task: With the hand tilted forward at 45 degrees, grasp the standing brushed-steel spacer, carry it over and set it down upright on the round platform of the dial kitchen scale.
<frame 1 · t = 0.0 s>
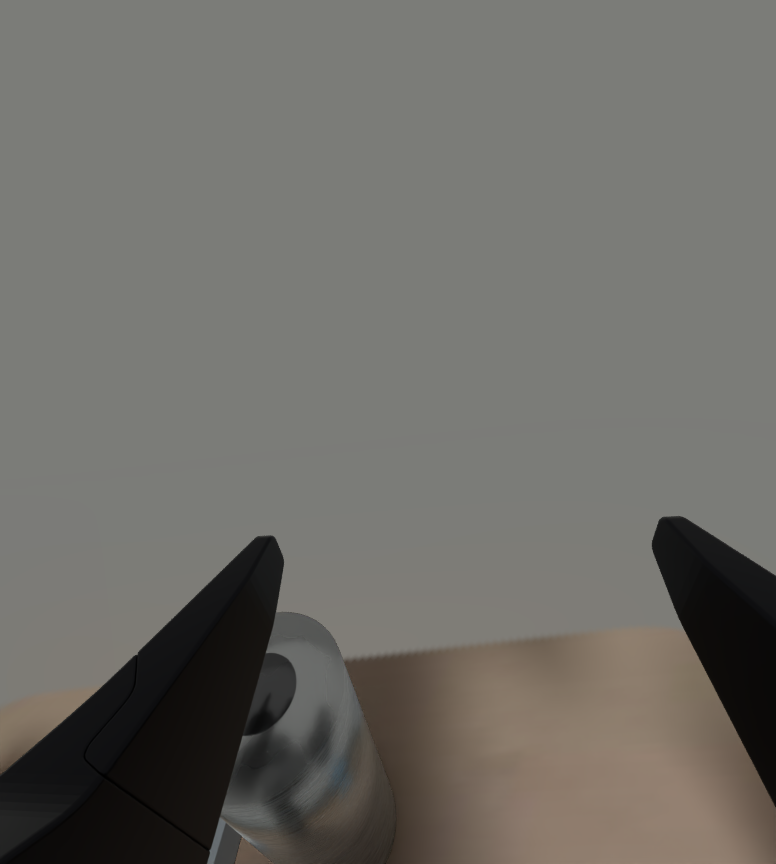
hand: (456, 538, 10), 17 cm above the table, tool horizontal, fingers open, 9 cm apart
spacer 2: (341, 818, 18), on the table
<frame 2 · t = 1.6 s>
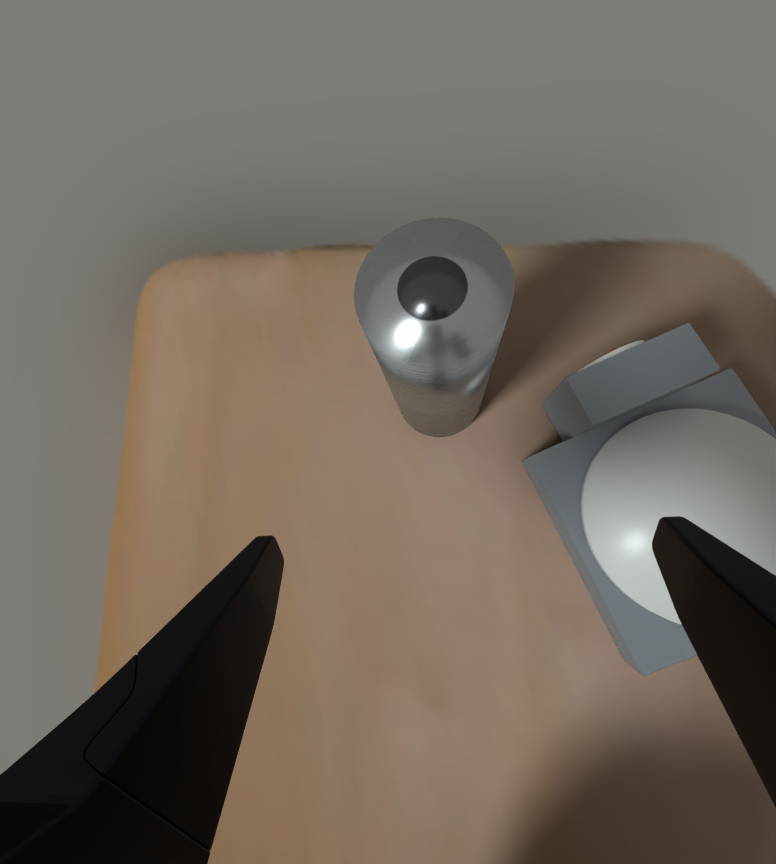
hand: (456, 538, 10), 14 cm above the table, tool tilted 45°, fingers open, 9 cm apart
spacer: (439, 396, 24), on the table
scale: (667, 513, 21), on the table
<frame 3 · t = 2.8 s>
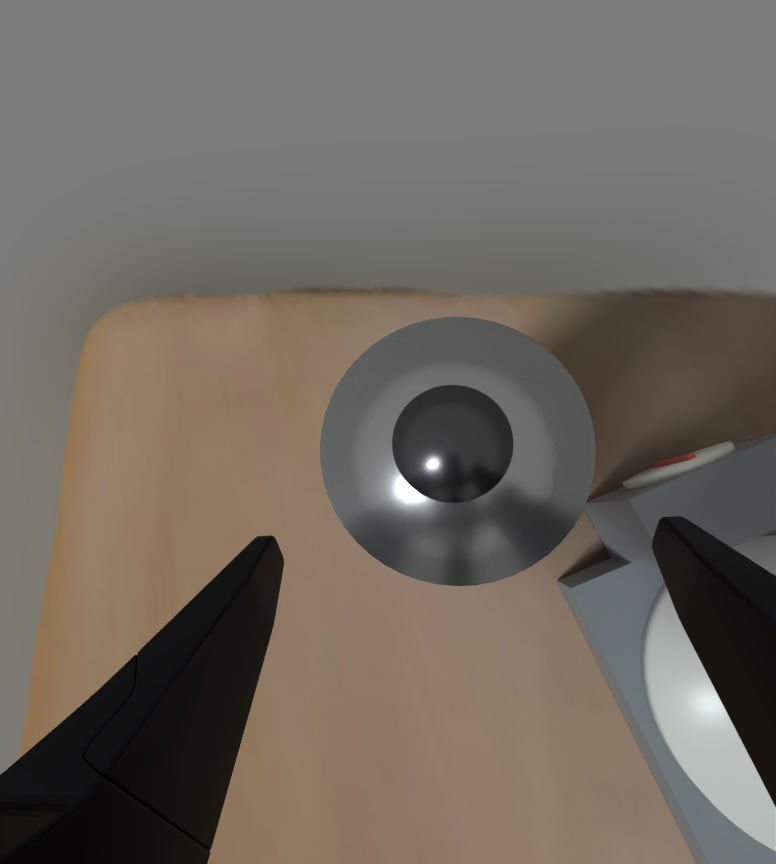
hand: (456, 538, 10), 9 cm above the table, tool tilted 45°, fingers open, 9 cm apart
spacer: (448, 487, 19), on the table
scale: (754, 662, 16), on the table
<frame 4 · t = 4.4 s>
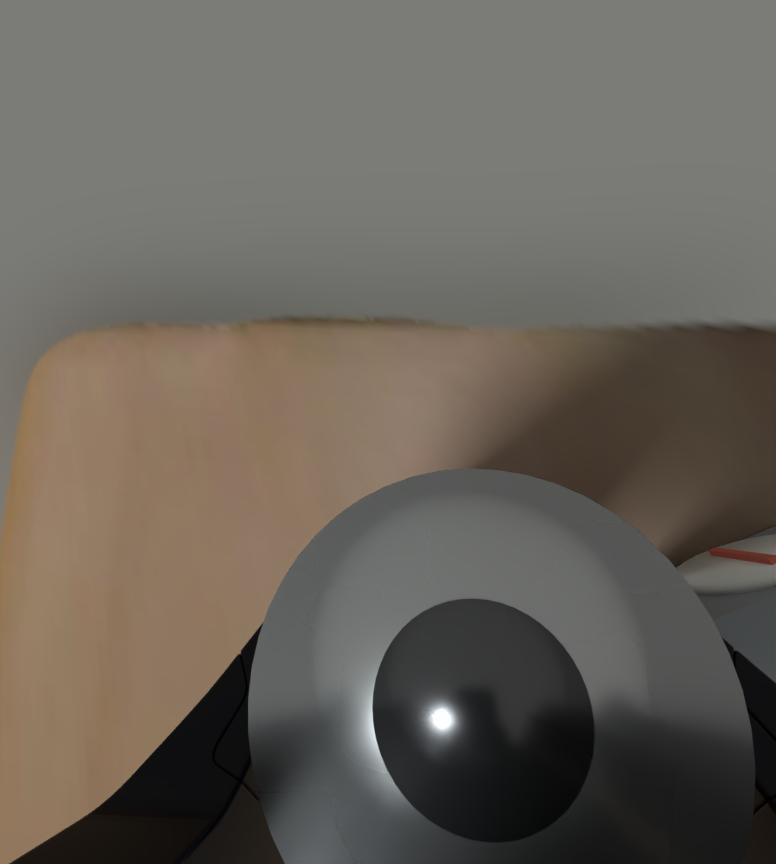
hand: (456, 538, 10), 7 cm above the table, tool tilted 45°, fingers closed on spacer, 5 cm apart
spacer: (455, 565, 16), on the table, touching gripper
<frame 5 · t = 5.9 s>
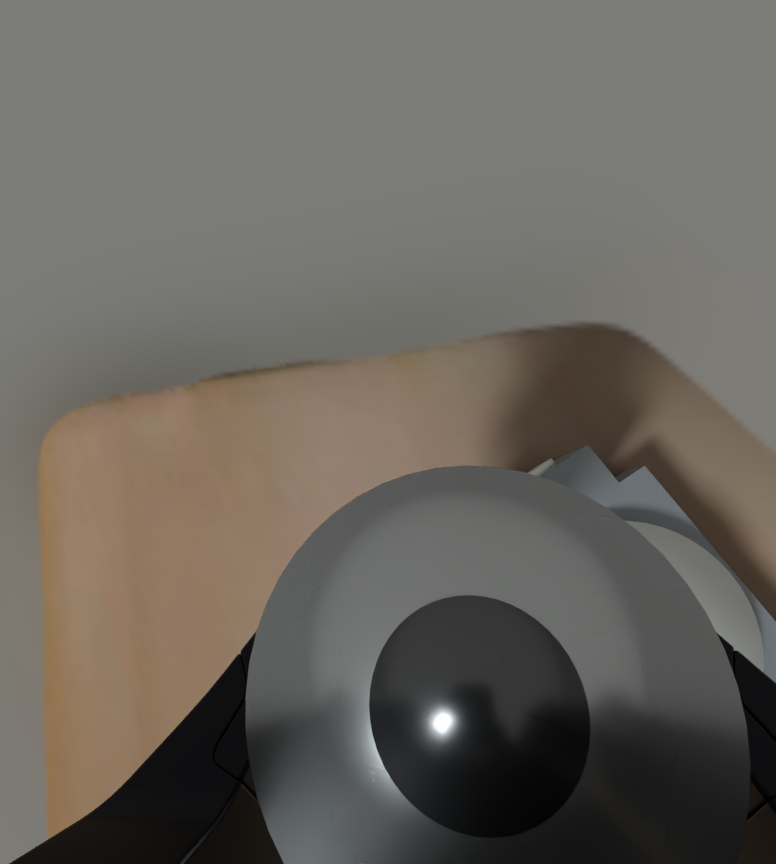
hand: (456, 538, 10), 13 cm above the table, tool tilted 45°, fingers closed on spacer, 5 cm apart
spacer: (454, 563, 16), point 7 cm above the table, touching gripper
scale: (610, 619, 21), on the table
when the fingers open (11 cm above the table, at t = 7.5 s): spacer drops 1 cm, resting on scale.
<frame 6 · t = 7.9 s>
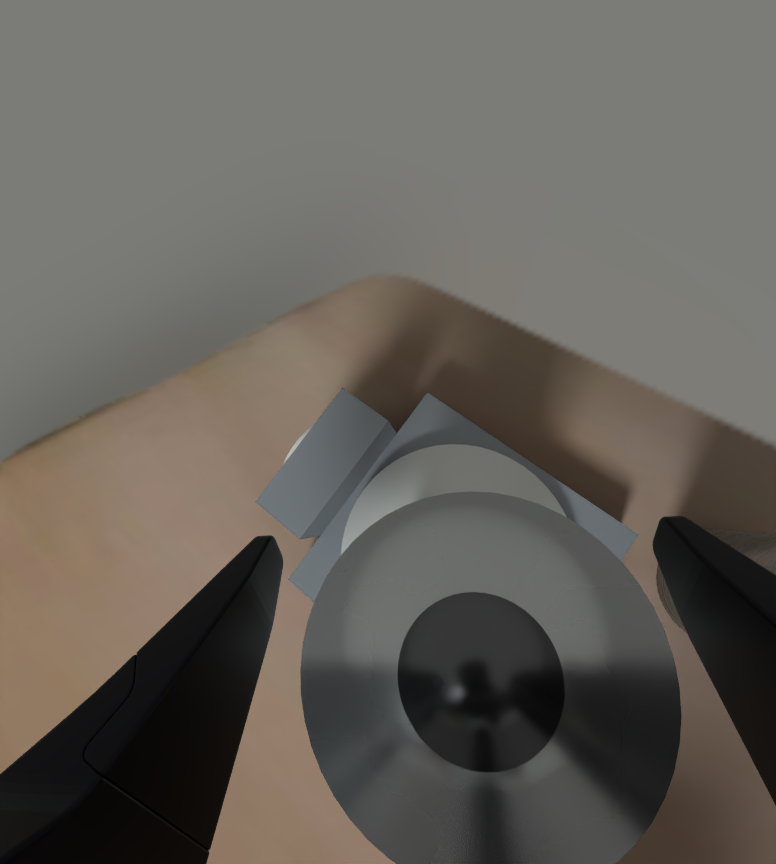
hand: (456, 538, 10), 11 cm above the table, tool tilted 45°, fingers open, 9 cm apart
spacer 2: (717, 586, 18), on the table
spacer: (455, 563, 17), point 3 cm above the table, touching scale
scale: (454, 553, 20), on the table
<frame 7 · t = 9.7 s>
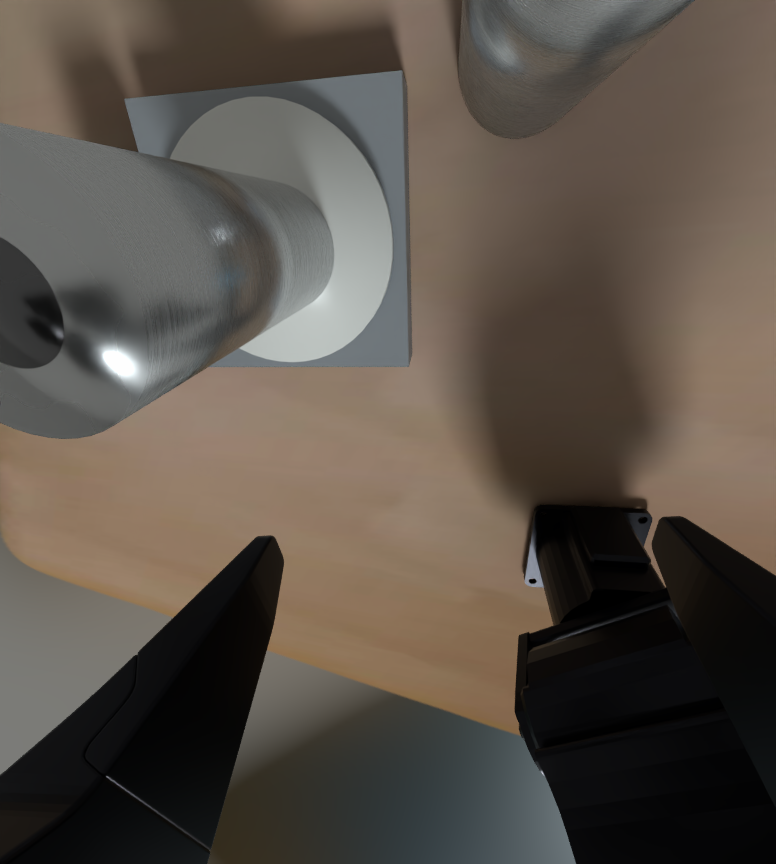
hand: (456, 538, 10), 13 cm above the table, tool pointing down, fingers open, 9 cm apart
spacer 2: (525, 57, 15), on the table
spacer: (276, 250, 17), point 3 cm above the table, touching scale
scale: (295, 243, 19), on the table
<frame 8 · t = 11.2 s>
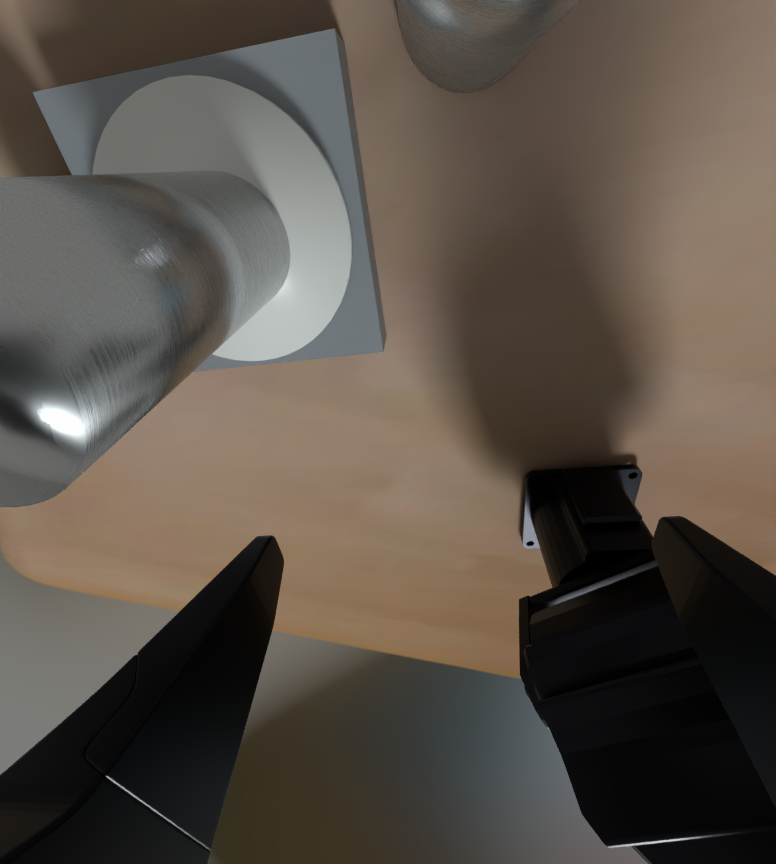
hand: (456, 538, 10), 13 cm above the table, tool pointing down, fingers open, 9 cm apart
spacer: (227, 245, 16), point 3 cm above the table, touching scale
scale: (249, 232, 18), on the table
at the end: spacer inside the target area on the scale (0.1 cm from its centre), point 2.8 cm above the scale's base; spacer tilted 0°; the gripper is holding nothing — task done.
